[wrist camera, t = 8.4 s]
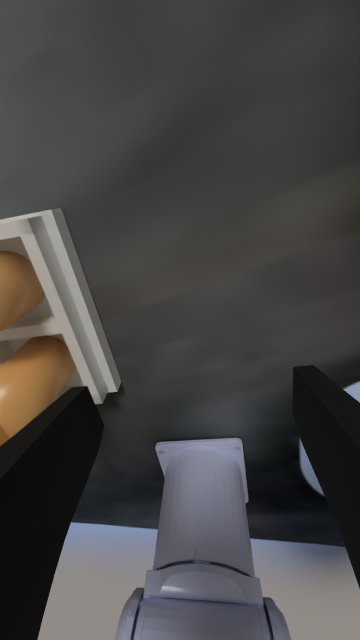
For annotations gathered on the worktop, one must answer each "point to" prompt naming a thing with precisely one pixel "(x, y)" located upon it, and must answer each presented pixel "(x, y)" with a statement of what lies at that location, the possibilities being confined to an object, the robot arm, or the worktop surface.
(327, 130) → the worktop surface
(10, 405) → the peg
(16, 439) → the robot arm
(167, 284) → the worktop surface
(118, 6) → the worktop surface
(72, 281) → the housing
